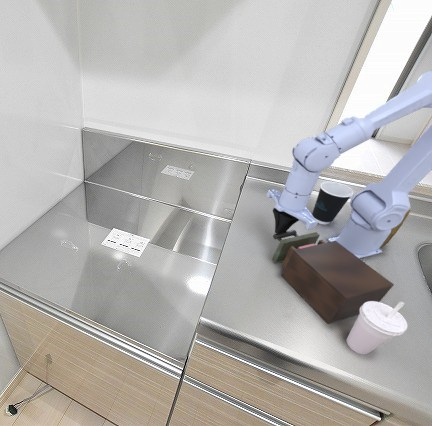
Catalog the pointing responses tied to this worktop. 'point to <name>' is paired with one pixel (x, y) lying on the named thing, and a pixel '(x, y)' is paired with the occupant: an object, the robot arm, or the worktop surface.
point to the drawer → (292, 244)
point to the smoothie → (375, 326)
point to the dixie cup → (330, 201)
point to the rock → (395, 230)
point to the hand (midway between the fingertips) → (279, 233)
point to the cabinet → (334, 280)
